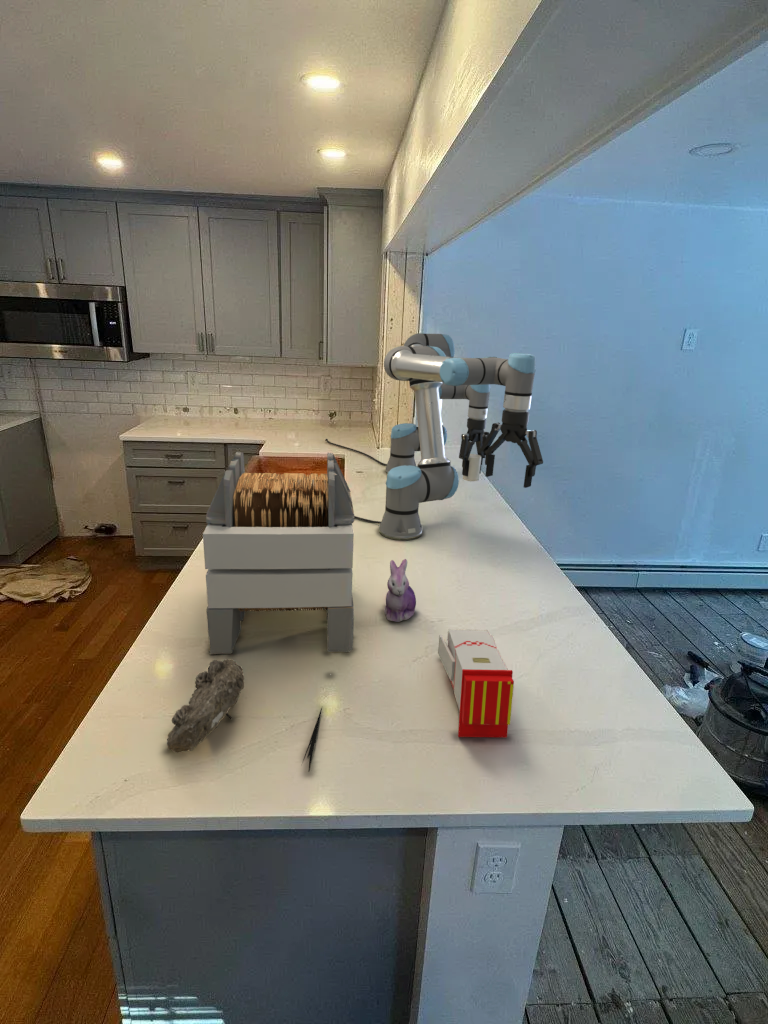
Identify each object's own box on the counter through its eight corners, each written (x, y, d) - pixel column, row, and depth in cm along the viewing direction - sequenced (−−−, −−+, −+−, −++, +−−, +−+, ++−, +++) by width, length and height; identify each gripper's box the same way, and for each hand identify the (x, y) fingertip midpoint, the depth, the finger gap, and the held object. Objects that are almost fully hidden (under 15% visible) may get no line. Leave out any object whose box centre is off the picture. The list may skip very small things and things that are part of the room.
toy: (488, 613, 130) (523, 677, 101) (484, 667, 133) (517, 744, 104) (435, 612, 130) (455, 676, 101) (432, 666, 133) (451, 743, 103)
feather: (331, 679, 122) (336, 673, 122) (307, 777, 96) (313, 769, 95) (324, 675, 122) (329, 669, 121) (298, 772, 95) (304, 764, 95)
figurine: (392, 627, 141) (395, 572, 136) (374, 608, 149) (376, 556, 144) (425, 619, 145) (429, 566, 140) (405, 601, 154) (408, 550, 149)
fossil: (192, 660, 117) (244, 628, 112) (224, 691, 120) (276, 661, 115) (142, 746, 98) (202, 712, 93) (182, 779, 101) (242, 748, 96)
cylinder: (481, 481, 231) (484, 457, 228) (466, 481, 229) (469, 458, 226) (474, 476, 237) (477, 453, 233) (460, 477, 235) (462, 453, 232)
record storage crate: (229, 585, 158) (221, 442, 144) (346, 584, 161) (350, 444, 148) (206, 656, 126) (193, 481, 112) (353, 652, 130) (358, 483, 116)
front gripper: (562, 415, 156) (551, 489, 163) (488, 402, 172) (481, 469, 180) (547, 418, 151) (537, 494, 158) (473, 404, 167) (466, 473, 175)
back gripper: (466, 422, 216) (460, 479, 224) (500, 418, 227) (494, 473, 235) (452, 418, 221) (447, 475, 229) (487, 414, 233) (481, 468, 241)
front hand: (507, 481), depth 169 cm, fingers open, 13 cm apart
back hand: (471, 474), depth 232 cm, fingers closed on cylinder, 7 cm apart
